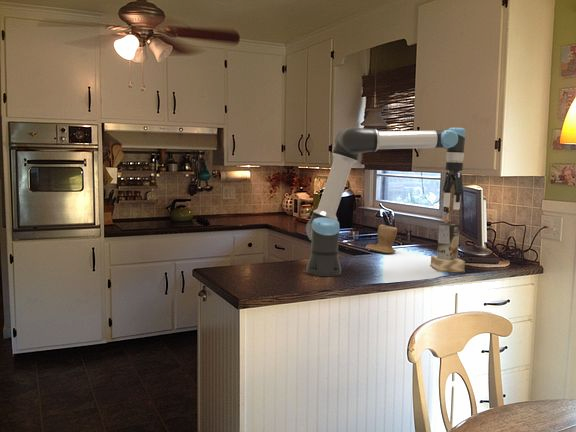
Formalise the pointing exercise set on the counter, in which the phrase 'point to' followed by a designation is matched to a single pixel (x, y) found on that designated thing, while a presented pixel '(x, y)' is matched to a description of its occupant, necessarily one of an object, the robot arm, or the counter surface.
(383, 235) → the tan boot
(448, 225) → the coffee box
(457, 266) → the maple riser
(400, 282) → the counter surface
